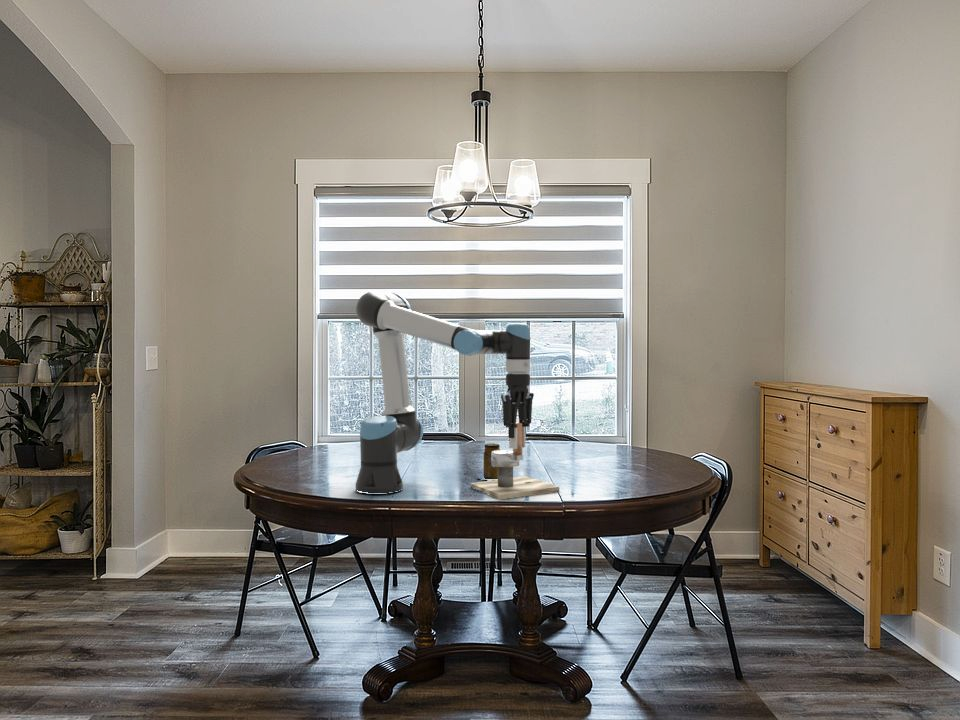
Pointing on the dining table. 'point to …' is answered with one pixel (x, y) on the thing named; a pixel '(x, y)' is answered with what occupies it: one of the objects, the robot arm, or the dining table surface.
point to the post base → (513, 485)
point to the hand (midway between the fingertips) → (517, 447)
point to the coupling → (509, 453)
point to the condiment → (488, 469)
